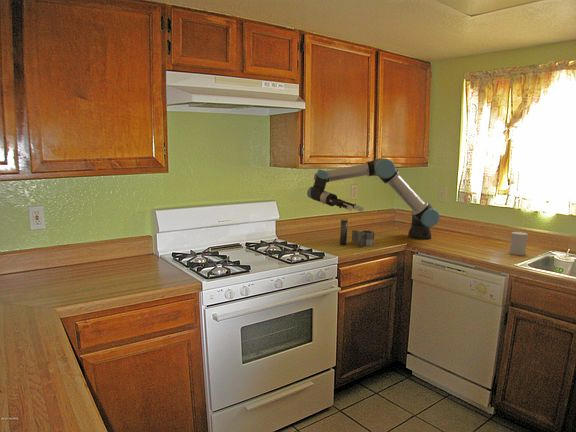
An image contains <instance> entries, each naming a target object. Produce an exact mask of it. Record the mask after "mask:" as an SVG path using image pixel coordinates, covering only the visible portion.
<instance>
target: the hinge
mask: <svg viewBox="0 0 576 432" xmlns="http://www.w3.org/2000/svg"><path fill="white" fill-rule="evenodd" d="M351 243H352V244H359V248H361V249H362V248H364V247H374V245H375V231H372V230H359V229H358V230H357V229H352V230H351Z"/></svg>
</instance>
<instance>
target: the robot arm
mask: <svg viewBox="0 0 576 432" xmlns="http://www.w3.org/2000/svg"><path fill="white" fill-rule="evenodd" d="M395 165H396V164H395V163H394V162H393V161H392V160H391V159H388V158H381V157H380V158H376V159H373V160H370V161H366V162H365V163H362V164H357V165H351V167H350V166H346V167H347V168H345V167H339V168H335V169H330V170H324V169H318V170H317V172H316V173H315V174H314V175H313V179H314V182H313V185H312V186H309V188H308V189H307V192H306V194H307V197H308V198H309V199H311V200H313V201H317V202H320V203H322V205H327V206H330V207H334V206H336V207H339V209H345V210H347V211H350V212H352V211H353V210H356V211H358V212H361V213H363V212H364V210H365V207H363V206H360V205H357V204H356V203H351V202H348V201H345V200H343V199H341V198H338V196H337V194H335V193H332V192H329V191H326V186H327V183H330V182H337V181H343V180H347V179H352V178H359V177H364V176H365V177H373V176H374V177H379V179H380V180H381V181H382V182H383V183H384V184H388V185H389V186H390V187H391V188H392V189H393V191H394V192H395V193H396V194H397V195H398V196H399V197H400V198H401V199H402V201H403V202H405V204H406V205H407V206H408V207H409V208H410V210H411V225H410V228H409V230H408V233H407V237H408V238H409V239H410V238H411V239H414V240H424V241H425V240H431V239H432V237H433V236H432V231H431V227H435V226H436V225H437V224H438V223H439V221H440V217H441V216H440V213H439V211H438V210H436V209H435V208H433V207H432V204H431V203H429V202H428V201H424V200H423V199H422V198H421V197H420V196H419V195H418V194H417V192H415V191H414V189H413V188H412V187H411V186H410V184H408V182H406V180H405V179H404V178H403V177H402V176H401V175H400V170H399V169H398V168H397V167H396V166H395Z"/></svg>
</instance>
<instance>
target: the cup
mask: <svg viewBox="0 0 576 432" xmlns="http://www.w3.org/2000/svg"><path fill="white" fill-rule="evenodd" d="M528 235H529V234H528V233H527V232H524V231H522V232H520V231H511V236H510V242H509V243H510V245H509V253H508V254H511V255H516V256H526V252H527V242H528Z"/></svg>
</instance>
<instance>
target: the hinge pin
mask: <svg viewBox="0 0 576 432" xmlns="http://www.w3.org/2000/svg"><path fill="white" fill-rule="evenodd" d="M348 221H349V218H348V217H347V218H346V217H340V232H339V235H340V236H339V245H340V246H343V247H344V246H347V242H348V240H347V237H348Z"/></svg>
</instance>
